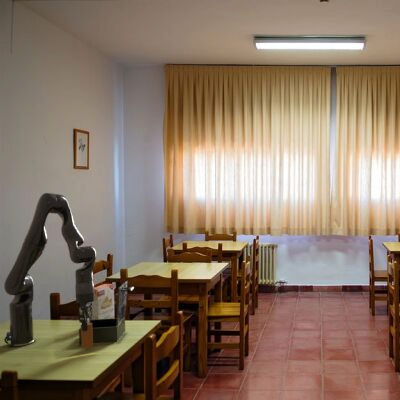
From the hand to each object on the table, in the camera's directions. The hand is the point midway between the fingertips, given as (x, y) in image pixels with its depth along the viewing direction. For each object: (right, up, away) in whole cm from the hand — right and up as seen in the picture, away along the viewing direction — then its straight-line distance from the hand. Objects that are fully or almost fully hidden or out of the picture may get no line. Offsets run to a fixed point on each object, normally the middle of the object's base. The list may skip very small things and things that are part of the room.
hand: (86, 328), depth 223 cm
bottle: (0, -8, 0) cm, 8 cm away
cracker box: (-10, -9, +40) cm, 42 cm away
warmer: (0, -10, +17) cm, 20 cm away
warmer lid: (+8, +8, +18) cm, 21 cm away
